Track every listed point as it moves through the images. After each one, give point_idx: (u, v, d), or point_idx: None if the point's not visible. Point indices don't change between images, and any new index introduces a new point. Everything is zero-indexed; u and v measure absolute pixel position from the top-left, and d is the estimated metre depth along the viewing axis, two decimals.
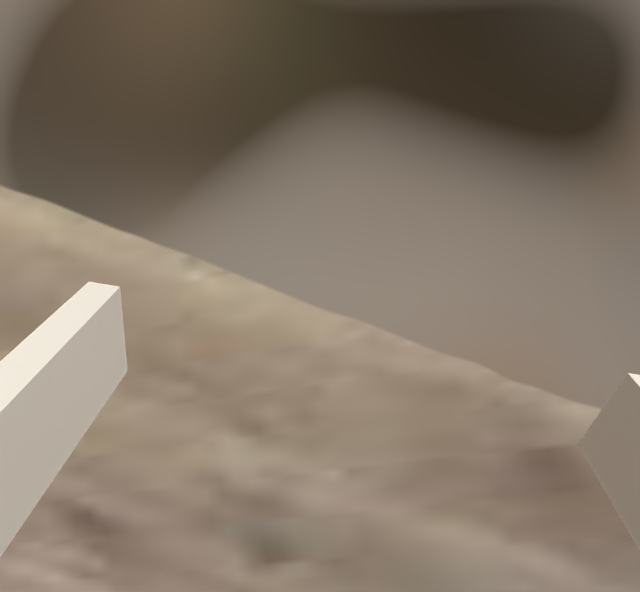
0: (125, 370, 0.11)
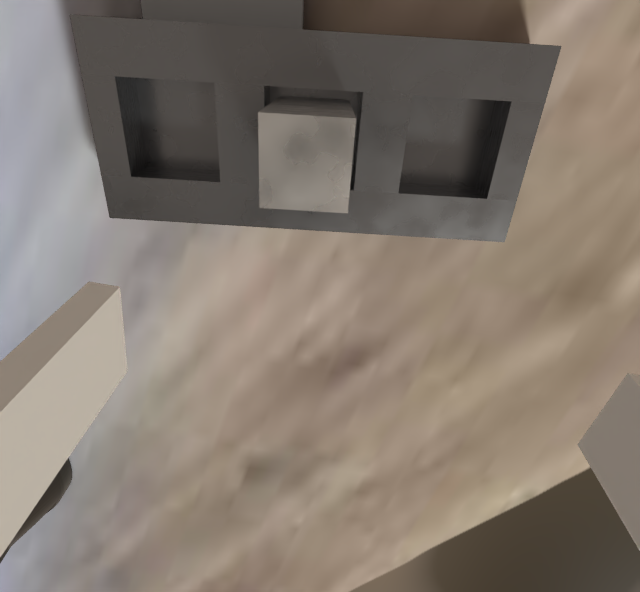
0: (125, 370, 0.11)
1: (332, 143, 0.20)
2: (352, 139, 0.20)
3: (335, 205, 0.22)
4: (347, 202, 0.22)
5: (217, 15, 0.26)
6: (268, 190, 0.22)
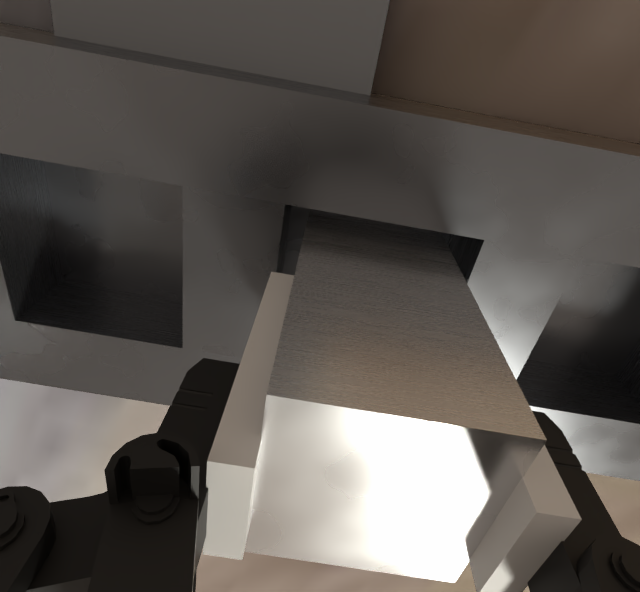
0: None
1: (461, 477, 0.07)
2: (518, 476, 0.07)
3: (431, 569, 0.09)
4: (460, 568, 0.09)
5: (205, 42, 0.13)
6: (272, 530, 0.09)
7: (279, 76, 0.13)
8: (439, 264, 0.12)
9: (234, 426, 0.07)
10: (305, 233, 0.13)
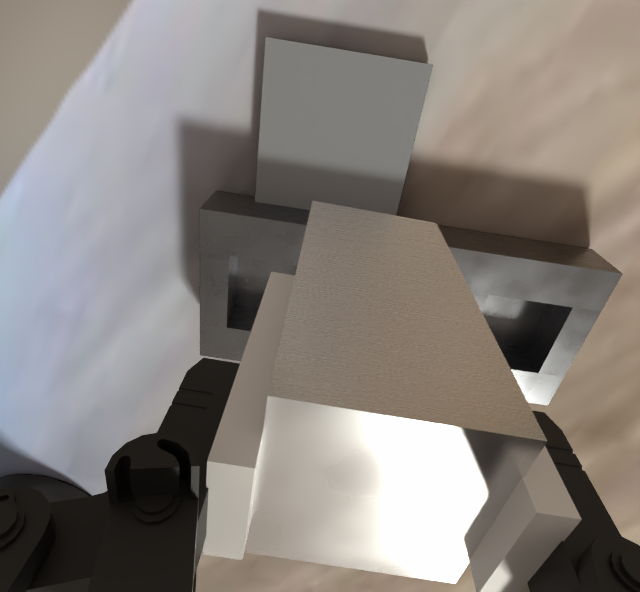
0: None
1: (462, 478, 0.07)
2: (518, 477, 0.07)
3: (432, 570, 0.09)
4: (461, 568, 0.09)
5: None
6: (272, 530, 0.09)
7: None
8: (439, 265, 0.12)
9: (234, 426, 0.07)
10: (306, 234, 0.13)
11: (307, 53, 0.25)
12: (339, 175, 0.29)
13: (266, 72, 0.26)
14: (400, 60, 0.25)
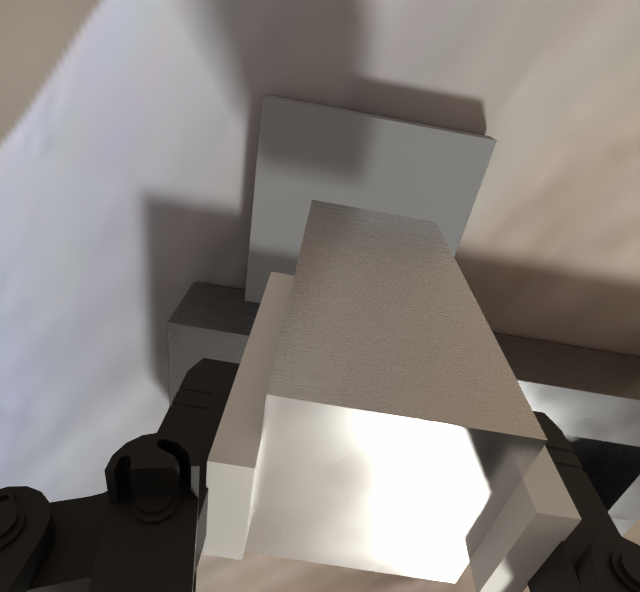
0: None
1: (462, 476, 0.07)
2: (518, 476, 0.07)
3: (431, 569, 0.09)
4: (461, 568, 0.09)
5: None
6: (272, 529, 0.09)
7: None
8: (439, 264, 0.12)
9: (234, 426, 0.07)
10: (305, 233, 0.13)
11: (320, 119, 0.18)
12: None
13: (263, 143, 0.18)
14: (451, 133, 0.18)
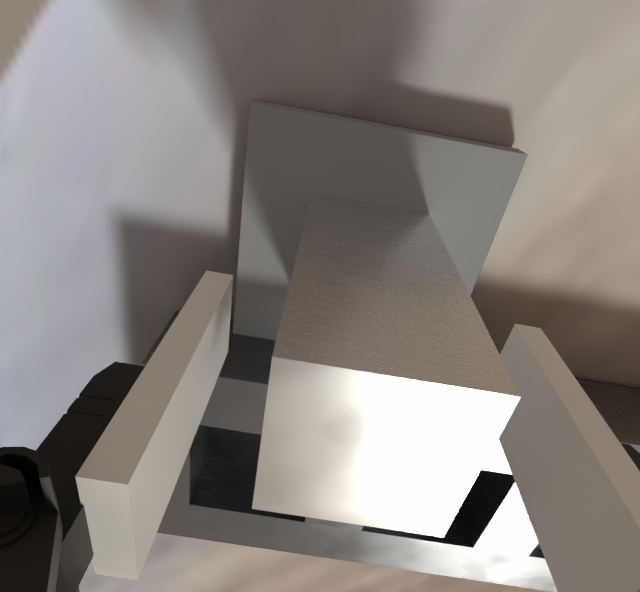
0: (227, 350, 0.13)
1: (446, 433, 0.08)
2: (496, 431, 0.08)
3: (421, 524, 0.10)
4: (448, 522, 0.10)
5: None
6: (276, 486, 0.09)
7: None
8: (430, 250, 0.13)
9: (117, 437, 0.07)
10: (305, 222, 0.13)
11: (318, 130, 0.15)
12: None
13: (251, 157, 0.16)
14: (473, 146, 0.15)
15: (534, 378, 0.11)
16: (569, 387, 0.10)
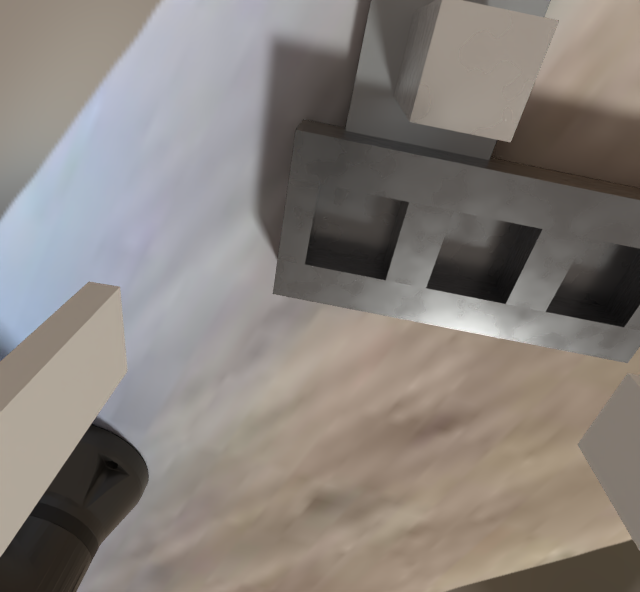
0: (125, 370, 0.11)
1: (520, 50, 0.17)
2: (546, 47, 0.17)
3: (500, 130, 0.19)
4: (514, 128, 0.18)
5: (415, 135, 0.28)
6: (426, 101, 0.18)
7: (447, 150, 0.29)
8: None
9: None
10: (422, 7, 0.22)
11: None
12: None
13: None
14: None
15: None
16: None
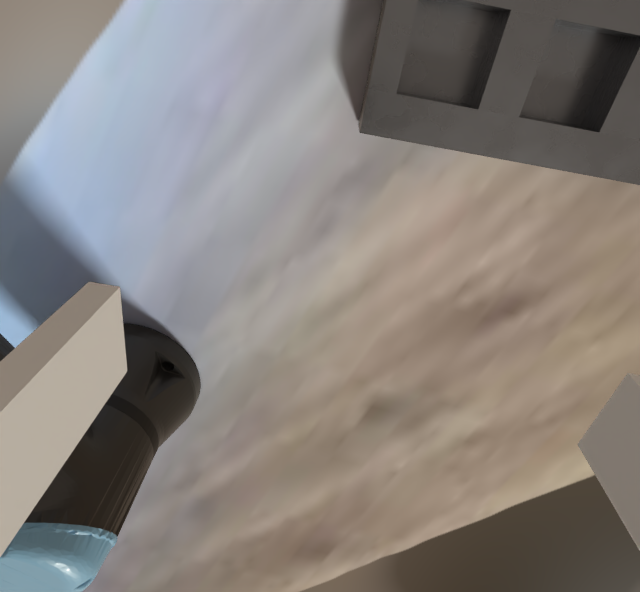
0: (125, 370, 0.11)
1: None
2: None
3: None
4: None
5: None
6: None
7: None
8: None
9: None
10: None
11: None
12: None
13: None
14: None
15: None
16: None
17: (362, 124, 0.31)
